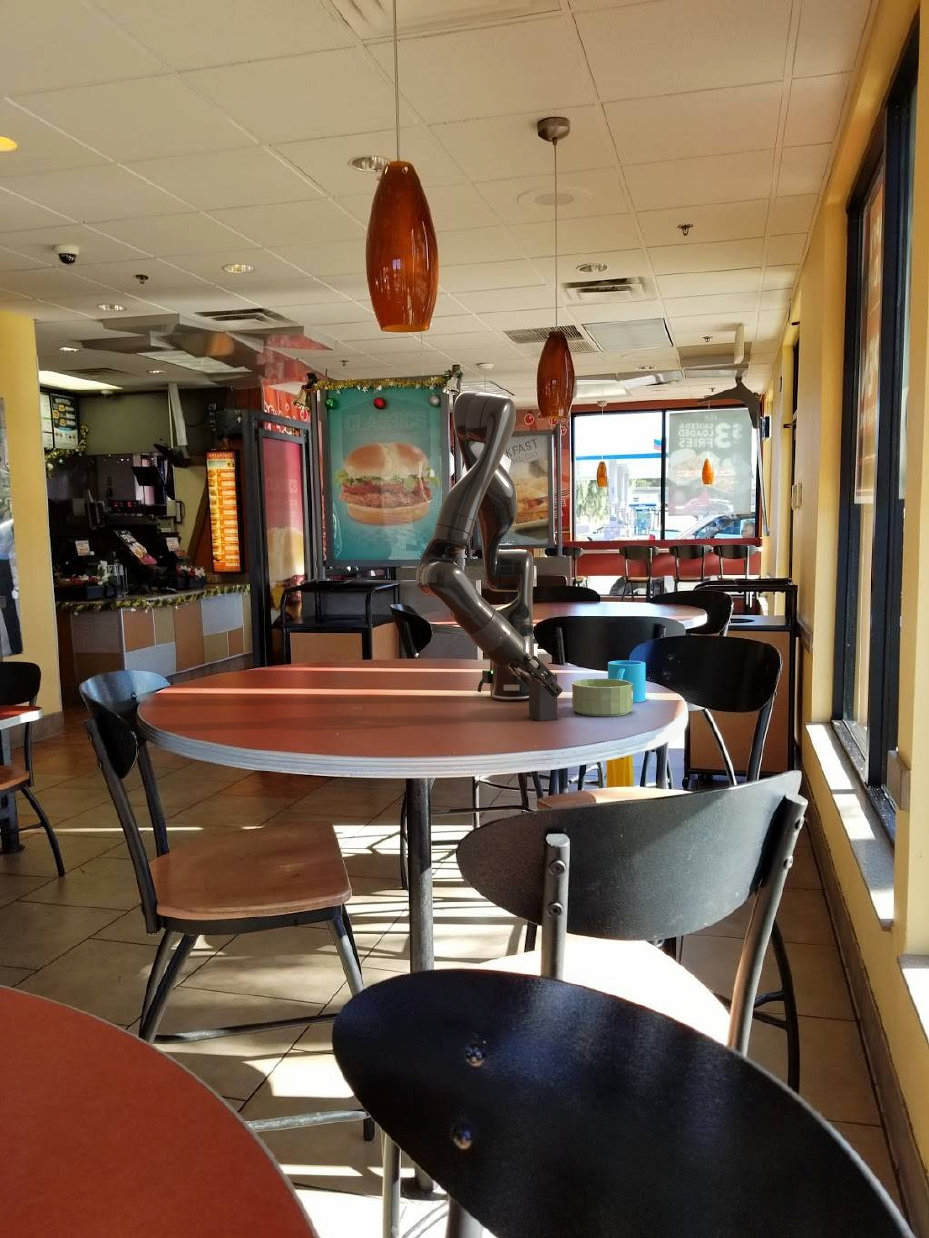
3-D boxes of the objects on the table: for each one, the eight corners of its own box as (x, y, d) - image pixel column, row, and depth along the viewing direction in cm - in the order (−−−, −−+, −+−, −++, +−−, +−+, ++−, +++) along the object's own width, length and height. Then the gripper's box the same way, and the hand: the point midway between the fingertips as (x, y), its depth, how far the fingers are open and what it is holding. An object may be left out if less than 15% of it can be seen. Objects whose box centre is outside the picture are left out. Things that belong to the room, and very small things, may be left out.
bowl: (560, 711, 191) (560, 682, 191) (603, 704, 198) (603, 676, 198) (600, 719, 181) (600, 689, 181) (645, 712, 188) (645, 683, 188)
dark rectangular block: (539, 721, 181) (539, 675, 180) (529, 717, 185) (528, 672, 184) (557, 719, 182) (557, 674, 182) (546, 715, 186) (546, 671, 186)
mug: (612, 695, 210) (612, 660, 209) (648, 697, 206) (648, 661, 206) (599, 704, 199) (599, 666, 198) (637, 706, 195) (637, 668, 195)
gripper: (525, 625, 173) (578, 681, 178) (491, 620, 185) (542, 672, 191) (500, 655, 171) (554, 711, 176) (468, 647, 184) (519, 700, 189)
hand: (548, 691), depth 184 cm, fingers open, 8 cm apart
